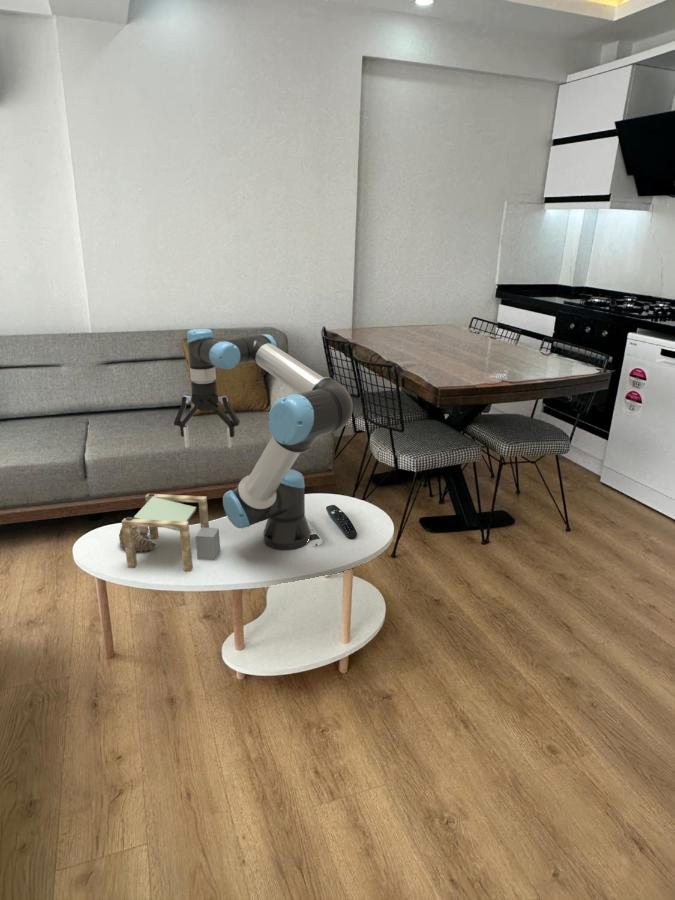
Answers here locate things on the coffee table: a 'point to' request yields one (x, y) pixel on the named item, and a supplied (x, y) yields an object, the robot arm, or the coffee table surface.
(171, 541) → the coffee table surface
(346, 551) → the coffee table surface
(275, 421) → the robot arm
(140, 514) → the trapdoor
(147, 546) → the seashell
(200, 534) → the grey rectangular block
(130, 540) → the frame
